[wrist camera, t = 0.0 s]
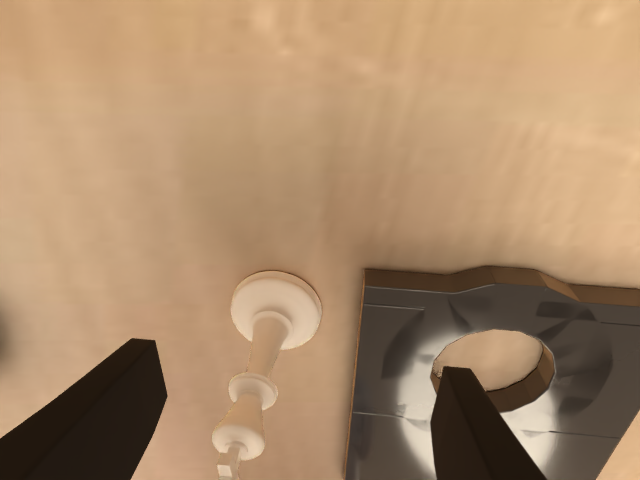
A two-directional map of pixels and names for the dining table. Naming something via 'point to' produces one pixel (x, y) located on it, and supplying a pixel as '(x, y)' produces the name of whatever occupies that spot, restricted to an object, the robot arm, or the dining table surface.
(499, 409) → the dark grey flat block
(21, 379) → the dining table surface
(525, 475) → the robot arm
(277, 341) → the chess piece
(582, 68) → the dining table surface
